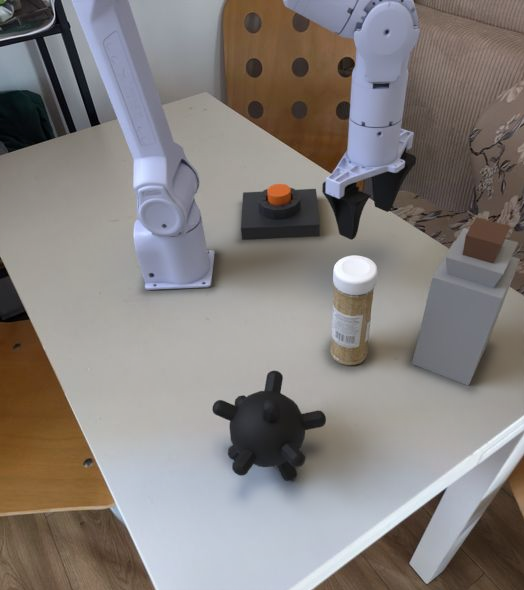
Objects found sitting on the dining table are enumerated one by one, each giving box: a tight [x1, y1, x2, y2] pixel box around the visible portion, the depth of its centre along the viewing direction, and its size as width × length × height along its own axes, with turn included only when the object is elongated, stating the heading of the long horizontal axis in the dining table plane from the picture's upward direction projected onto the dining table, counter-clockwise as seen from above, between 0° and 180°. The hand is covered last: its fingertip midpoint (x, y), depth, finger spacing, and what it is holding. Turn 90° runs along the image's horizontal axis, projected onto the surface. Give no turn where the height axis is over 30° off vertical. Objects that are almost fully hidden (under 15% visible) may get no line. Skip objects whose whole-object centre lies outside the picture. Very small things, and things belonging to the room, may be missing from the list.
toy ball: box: [211, 370, 327, 482], centre depth 52 cm, size 11×11×12 cm
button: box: [267, 183, 291, 205], centre depth 80 cm, size 4×4×2 cm
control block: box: [240, 187, 321, 241], centre depth 82 cm, size 12×10×4 cm
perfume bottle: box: [411, 217, 521, 386], centre depth 56 cm, size 7×7×18 cm
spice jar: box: [329, 254, 378, 366], centre depth 59 cm, size 5×5×13 cm
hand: (365, 221), depth 67 cm, fingers open, 7 cm apart
